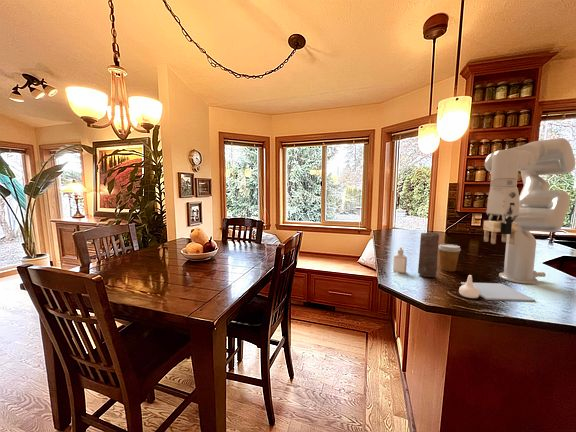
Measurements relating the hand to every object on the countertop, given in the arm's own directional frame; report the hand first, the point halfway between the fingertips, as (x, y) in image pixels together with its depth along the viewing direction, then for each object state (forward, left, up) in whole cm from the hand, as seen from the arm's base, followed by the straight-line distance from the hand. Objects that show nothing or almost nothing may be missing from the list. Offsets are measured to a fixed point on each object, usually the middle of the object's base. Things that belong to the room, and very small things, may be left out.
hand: (499, 232), depth 95 cm
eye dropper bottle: (+28, -22, -23) cm, 43 cm away
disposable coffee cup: (+3, -28, -23) cm, 37 cm away
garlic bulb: (+12, +5, -23) cm, 27 cm away
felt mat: (0, 0, -23) cm, 23 cm away
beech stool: (0, 0, -4) cm, 4 cm away
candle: (+18, -16, -23) cm, 34 cm away
